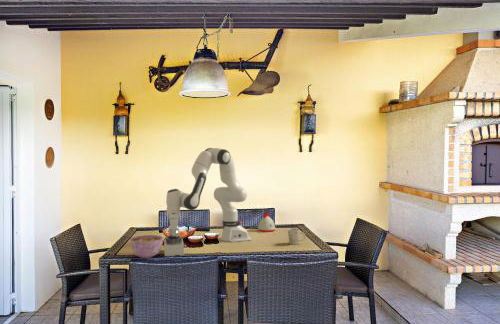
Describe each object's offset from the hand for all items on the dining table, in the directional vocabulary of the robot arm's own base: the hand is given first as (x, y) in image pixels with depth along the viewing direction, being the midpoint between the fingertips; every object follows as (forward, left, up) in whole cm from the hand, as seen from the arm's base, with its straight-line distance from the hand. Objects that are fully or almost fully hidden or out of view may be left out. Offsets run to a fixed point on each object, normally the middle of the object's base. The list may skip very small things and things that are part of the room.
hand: (173, 234), depth 278 cm
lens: (0, 0, -3) cm, 3 cm away
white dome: (-76, -53, -12) cm, 93 cm away
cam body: (0, +2, -11) cm, 11 cm away
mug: (-86, -4, -12) cm, 87 cm away
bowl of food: (+17, +9, -12) cm, 22 cm away
